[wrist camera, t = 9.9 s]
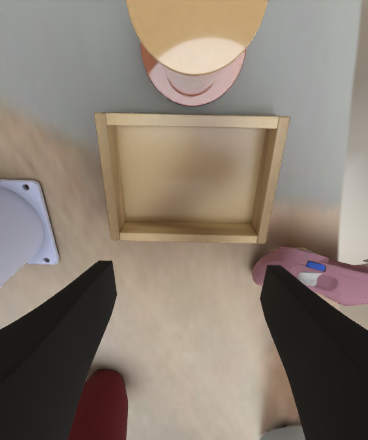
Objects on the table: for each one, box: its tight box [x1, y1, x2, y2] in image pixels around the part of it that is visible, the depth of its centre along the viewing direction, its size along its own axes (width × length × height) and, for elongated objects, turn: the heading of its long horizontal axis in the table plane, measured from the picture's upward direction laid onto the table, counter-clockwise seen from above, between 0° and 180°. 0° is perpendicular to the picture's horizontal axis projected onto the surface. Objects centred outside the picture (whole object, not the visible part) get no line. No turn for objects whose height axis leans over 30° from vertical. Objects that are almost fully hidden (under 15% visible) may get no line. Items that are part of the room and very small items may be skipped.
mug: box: [68, 370, 128, 440], centre depth 25 cm, size 10×8×10 cm
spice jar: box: [126, 0, 268, 89], centre depth 11 cm, size 5×5×8 cm
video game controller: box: [252, 246, 368, 306], centre depth 19 cm, size 10×5×7 cm, turn 74°
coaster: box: [141, 43, 246, 106], centre depth 15 cm, size 7×7×1 cm
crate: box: [94, 113, 290, 244], centre depth 17 cm, size 12×9×3 cm
